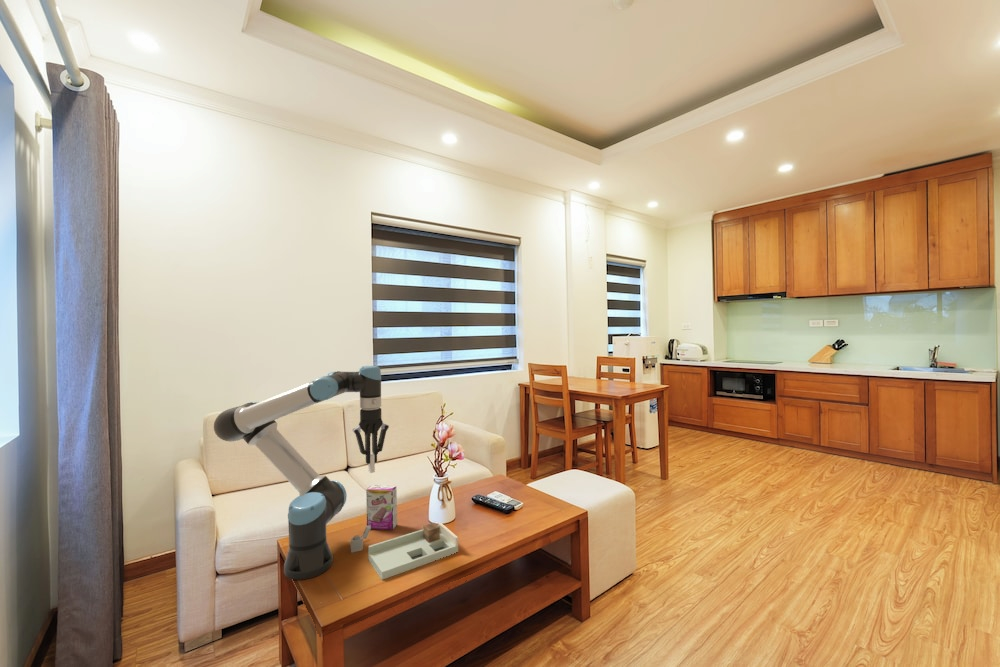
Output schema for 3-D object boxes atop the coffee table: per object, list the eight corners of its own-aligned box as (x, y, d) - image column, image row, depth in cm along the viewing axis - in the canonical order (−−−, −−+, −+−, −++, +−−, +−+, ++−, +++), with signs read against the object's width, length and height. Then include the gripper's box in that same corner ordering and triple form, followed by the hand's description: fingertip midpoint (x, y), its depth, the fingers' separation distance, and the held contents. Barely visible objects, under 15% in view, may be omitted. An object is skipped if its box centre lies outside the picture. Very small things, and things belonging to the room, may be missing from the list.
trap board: (382, 579, 136) (381, 563, 136) (368, 560, 148) (368, 544, 147) (458, 552, 152) (458, 537, 152) (440, 536, 163) (440, 522, 163)
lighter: (351, 552, 153) (350, 530, 152) (350, 550, 154) (350, 528, 154) (371, 547, 156) (371, 526, 156) (370, 545, 157) (370, 524, 157)
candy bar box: (366, 529, 170) (365, 489, 169) (371, 523, 175) (370, 484, 174) (393, 530, 169) (392, 490, 168) (397, 524, 174) (396, 485, 173)
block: (428, 542, 154) (428, 530, 154) (423, 537, 158) (423, 525, 157) (439, 539, 156) (439, 527, 156) (434, 534, 160) (434, 522, 160)
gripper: (355, 412, 148) (356, 478, 149) (391, 407, 156) (392, 470, 156) (349, 408, 155) (350, 472, 155) (384, 404, 162) (385, 465, 163)
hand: (371, 471), depth 156 cm, fingers closed
